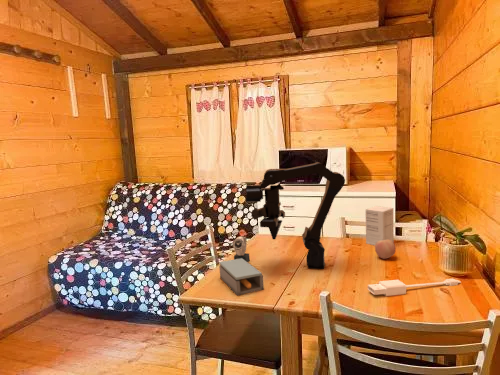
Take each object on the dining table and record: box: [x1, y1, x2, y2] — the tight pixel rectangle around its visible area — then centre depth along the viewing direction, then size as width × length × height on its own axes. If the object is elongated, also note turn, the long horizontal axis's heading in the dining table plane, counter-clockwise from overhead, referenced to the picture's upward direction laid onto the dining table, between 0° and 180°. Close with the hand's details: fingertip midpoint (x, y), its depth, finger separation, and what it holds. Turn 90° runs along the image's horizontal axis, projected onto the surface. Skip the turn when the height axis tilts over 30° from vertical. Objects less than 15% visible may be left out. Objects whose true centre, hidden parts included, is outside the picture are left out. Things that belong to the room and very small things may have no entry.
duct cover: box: [218, 258, 263, 280], centre depth 131 cm, size 10×18×1 cm, turn 23°
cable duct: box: [219, 264, 265, 297], centre depth 132 cm, size 10×18×5 cm, turn 23°
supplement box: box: [365, 205, 395, 246], centre depth 168 cm, size 10×9×17 cm
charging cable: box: [367, 278, 462, 297], centre depth 119 cm, size 5×32×3 cm, turn 100°
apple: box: [374, 239, 396, 260], centre depth 149 cm, size 8×8×8 cm
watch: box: [232, 236, 250, 263], centre depth 154 cm, size 6×8×11 cm
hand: (274, 239), depth 144 cm, fingers closed
